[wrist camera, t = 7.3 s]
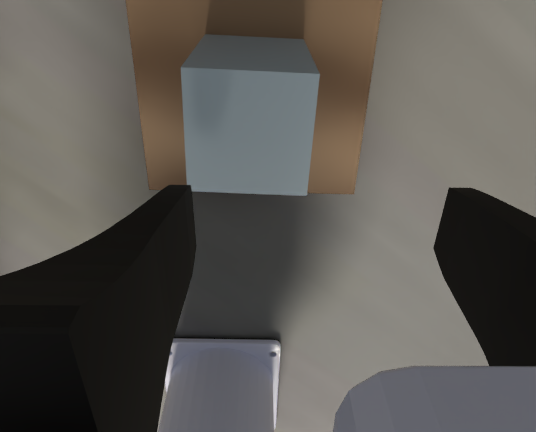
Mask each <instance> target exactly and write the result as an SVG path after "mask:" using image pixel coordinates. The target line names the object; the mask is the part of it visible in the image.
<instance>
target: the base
mask: <svg viewBox="0 0 536 432" xmlns="http://www.w3.org/2000/svg"><path fill="white" fill-rule="evenodd" d="M382 1H383V0H126V7H127V15H128V23H129V31H130V39H131V47H132V55H133V63H134V71H135V79H136V87H137V95H138V103H139V111H140V119H141V127H142V135H143V143H144V151H145V159H146V167H147V175H148V183H149V190H162V189H164V188H165V187H166V186H168V185H187V178H186V159H185V140H184V121H183V102H182V83H181V66H182V65H183V63H184V62H185V61H186V59H187V58H188V57H189V55H190V54H191V53H192V51H193V50H194V49H195V47H196V46H197V44H198V43H199V42H200V40H201V39H202V38H203V36H204V35H205V34H211V35H230V36H250V37H270V38H289V39H304V41H305V43H306V45H307V47H308V49H309V52H310V54H311V56H312V58H313V60H314V62H315V65H316V67H317V69H318V71H319V73H320V78H319V87H318V96H317V106H316V115H315V124H314V134H313V143H312V152H311V162H310V171H309V180H308V190H307V193H322V194H354V190H355V184H356V177H357V170H358V163H359V156H360V150H361V143H362V136H363V129H364V123H365V116H366V109H367V102H368V95H369V89H370V82H371V75H372V68H373V62H374V55H375V48H376V41H377V34H378V28H379V21H380V14H381V7H382Z"/></svg>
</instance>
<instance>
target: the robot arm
mask: <svg viewBox="0 0 536 432" xmlns="http://www.w3.org/2000/svg"><path fill="white" fill-rule="evenodd" d="M195 251H196V237H195V225H194V213H193V201H192V189H191V185H168V186H166V187H165V188H164V189H162V190H161V191H160V192H158V193H157V194H156V195H155V196H153V197H152V198H151V199H149V200H148V201H147V202H146V203H144V204H143V205H142V206H140V207H139V208H138V209H136V210H135V211H134V212H132V213H131V214H130V215H128V216H127V217H125V218H124V219H122V220H121V221H119V222H118V223H116V224H115V225H113V226H112V227H110V228H109V229H107V230H106V231H104V232H102V233H101V234H99V235H97V236H95V237H94V238H92V239H90V240H88V241H86V242H84V243H82V244H80V245H78V246H76V247H74V248H72V249H70V250H68V251H66V252H63V253H61V254H59V255H56V256H54V257H52V258H49V259H47V260H45V261H42V262H40V263H37V264H35V265H32V266H29V267H26V268H24V269H21V270H18V271H15V272H12V273H9V274H6V275H2V276H0V432H157V428H158V421H159V415H160V408H161V402H162V396H163V390H164V384H165V387H166V399H165V403H164V408H163V412H162V417H161V421H160V426H159V430H158V432H274V429H275V427H276V416H277V400H278V384H279V368H280V353H281V345H280V343H279V341H277V340H250V339H183V338H174V335H175V331H176V328H177V325H178V321H179V318H180V315H181V311H182V308H183V305H184V301H185V298H186V294H187V291H188V287H189V284H190V280H191V277H192V272H193V266H194V259H195ZM434 251H435V254H436V257H437V260H438V263H439V266H440V269H441V271H442V274H443V277H444V279H445V281H446V283H447V285H448V286H449V288H450V290H451V292H452V294H453V296H454V298H455V300H456V301H457V303H458V305H459V307H460V309H461V310H462V312H463V314H464V316H465V318H466V320H467V321H468V323H469V325H470V327H471V329H472V330H473V332H474V334H475V336H476V338H477V340H478V342H479V344H480V346H481V348H482V350H483V352H484V354H485V356H486V359H487V361H488V364H489V366H410V367H404V368H398V369H392V370H386V371H381V372H378V373H377V374H375V375H373V376H372V377H370V378H368V379H366V380H365V381H363V382H361V383H360V384H358V385H356V386H355V387H353V388H352V389H351V390H349V391H348V393H347V395H346V397H345V398H344V400H343V402H342V404H341V405H340V407H339V409H338V410H337V412H336V415H335V422H334V428H333V432H536V217H533V216H531V215H529V214H527V213H525V212H523V211H521V210H519V209H517V208H515V207H513V206H511V205H509V204H507V203H505V202H503V201H501V200H499V199H497V198H495V197H492V196H490V195H488V194H486V193H483V192H481V191H478V190H476V189H473V188H449V190H448V193H447V197H446V201H445V205H444V209H443V213H442V217H441V221H440V225H439V229H438V232H437V236H436V240H435V244H434ZM272 352H273V353H272Z"/></svg>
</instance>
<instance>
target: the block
mask: <svg viewBox="0 0 536 432" xmlns="http://www.w3.org/2000/svg"><path fill="white" fill-rule="evenodd" d="M319 78H320V73H319V71H318V69H317V67H316V65H315V62H314V60H313V58H312V56H311V54H310V52H309V49H308V47H307V45H306V43H305V41H304V39H289V38H270V37H250V36H230V35H211V34H205V35H204V36H203V38H202V39H201V40H200V42H199V43H198V44H197V46H196V47H195V49H194V50H193V51H192V53H191V54H190V55H189V57H188V58H187V59H186V61H185V62H184V63H183V65H182V66H181V83H182V102H183V121H184V140H185V159H186V178H187V185H191V189H192V191H194V192H220V193H245V194H270V195H296V196H307V190H308V180H309V171H310V162H311V152H312V143H313V134H314V124H315V115H316V106H317V96H318V87H319Z"/></svg>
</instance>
